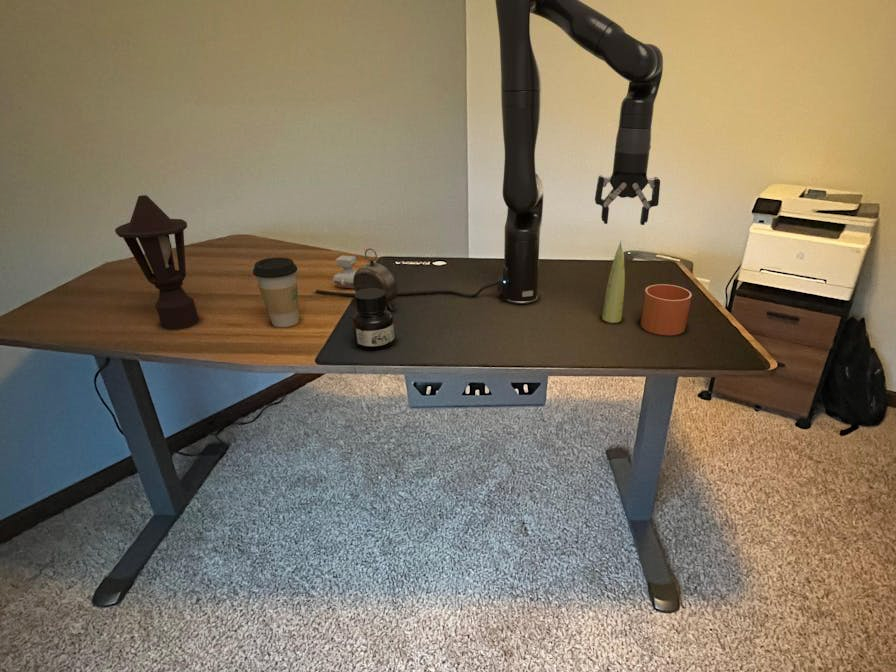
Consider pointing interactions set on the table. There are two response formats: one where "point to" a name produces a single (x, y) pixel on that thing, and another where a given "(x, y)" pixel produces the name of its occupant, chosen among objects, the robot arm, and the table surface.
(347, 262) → the stamp
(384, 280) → the alarm clock
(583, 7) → the robot arm
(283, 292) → the coffee cup
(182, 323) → the lantern
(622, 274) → the tube
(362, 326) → the ink bottle
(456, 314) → the table surface
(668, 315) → the pen cup
